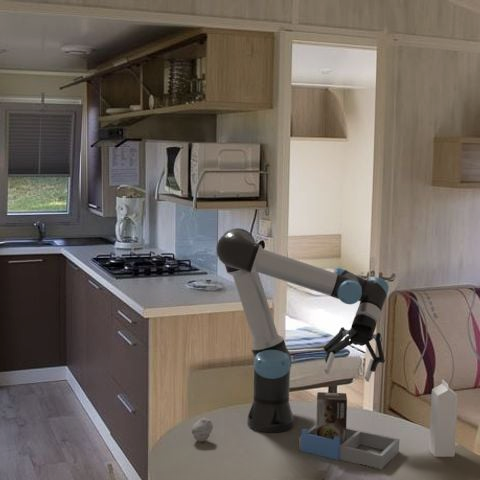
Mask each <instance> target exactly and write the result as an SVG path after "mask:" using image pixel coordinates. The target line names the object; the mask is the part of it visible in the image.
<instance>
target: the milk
mask: <svg viewBox="0 0 480 480" xmlns="http://www.w3.org/2000/svg"><path fill="white" fill-rule="evenodd" d="M458 398H459V395H458V394H457V393H456V392H455V391H454V390H453V389H451V387H449V384H448V383H447V382H446V381H445V380H444V379H441V383H440V384H439V385H437V386H435V387H434V388H432V389H431V398H430V399H431V402H430V417H429V419H430V420H429V422H430V423H429V441H428V450H429V451H430V452H431V454H432V455H433V457H435V458H438V457H439V458H443V457H444V458H446V457H449V458H450V457H451V458H452V457H453V458H454V457H455V455H456V454H455V451H456V437H457V436H456V434H457V416H458V415H457V414H458V402H459V401H458Z"/></svg>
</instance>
